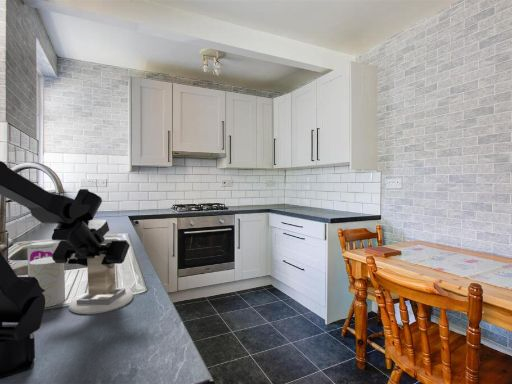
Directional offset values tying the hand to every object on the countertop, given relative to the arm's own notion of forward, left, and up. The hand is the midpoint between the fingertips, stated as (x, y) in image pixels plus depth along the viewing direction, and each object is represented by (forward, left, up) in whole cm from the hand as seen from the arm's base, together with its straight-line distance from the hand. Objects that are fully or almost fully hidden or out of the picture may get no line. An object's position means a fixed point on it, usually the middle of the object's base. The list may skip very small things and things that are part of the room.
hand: (104, 266), depth 84 cm
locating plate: (-1, -1, -10) cm, 10 cm away
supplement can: (-13, +22, -10) cm, 27 cm away
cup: (-13, +9, -10) cm, 19 cm away
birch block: (-1, -1, -7) cm, 7 cm away
